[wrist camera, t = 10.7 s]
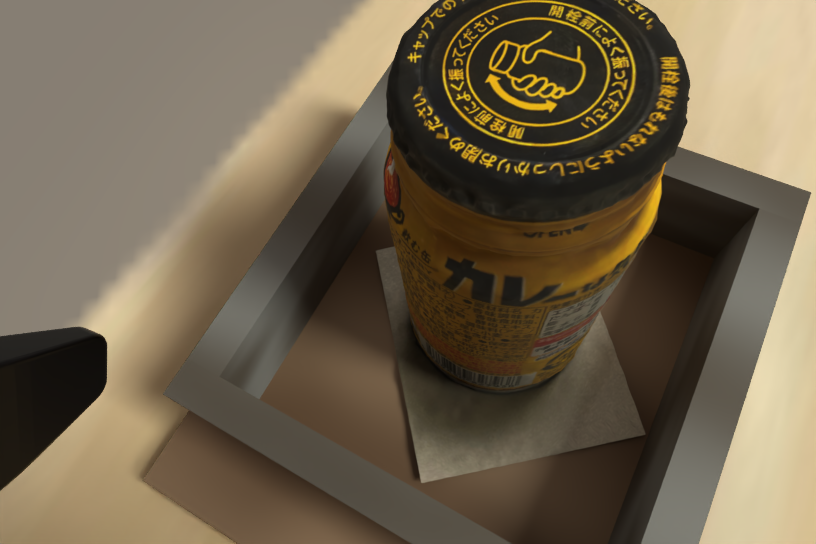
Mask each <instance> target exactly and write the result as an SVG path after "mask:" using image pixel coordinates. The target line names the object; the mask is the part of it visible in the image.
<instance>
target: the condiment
mask: <svg viewBox="0 0 816 544" xmlns="http://www.w3.org/2000/svg"><path fill="white" fill-rule="evenodd" d="M689 89H690V80H689V75H688V72H687V68H686V65H685V61H684V59H683V57H682V55H681V53H680V51H679V49H678V47H677V44H676V41H675V40H674V39H673V37H672V36H671V35H670V33H669V32H668V30H667V28H666V27H665V25H664V24H663V23H662V22H660V20H659V18H658V17H657V15H656V14H655V13H654V12H652V11H651V10H650V9H648V8H647V7H645V6H643V5H641V4H640V3H638V2H637V1H635V0H439V1H437V2H436V3H434V4H433V5H432V6H431V7H430V8H429V9H428V10H427V11H426V12H425V13H424V14H423V15H422V16H421V17H420V18H419V19H418V20H417V22H416V23H415V24H414V25H413V26H412V27H411V28H410V29H409V30H408V31H406V32H405V33H404V35H403V36H402V38H401V41H400V44H399V46H398V49H397V52H396V55H395V58H394V60H393V64H392V67H391V70H390V73H389V76H388V84H387V91H386V99H387V115H386V116H387V119H388V124H389V126H390V128H391V132H390V141H391V142H390V145H389V148H388V152H387V156H386V160H385V164H384V171H383V176H384V196H385V206H386V210H387V215H388V222H389V225H390V230H391V236H392V237H393V242H394V247H390V248H385V249H381V250H377V251H376V254H377V259H378V264H379V269H380V274H381V279H382V284H383V289H384V294H385V299H386V304H387V309H388V314H389V319H390V325H391V330H392V335H393V340H394V345H395V350H396V355H397V361H398V366H399V371H400V376H401V381H402V385H403V391H404V396H405V402H406V407H407V412H408V417H409V423H410V427H411V432H412V437H413V442H414V448H415V453H416V458H417V463H418V468H419V473H420V479H421V483H425V482H430V481H434V480H439V479H443V478H447V477H454V476H458V475H463V474H467V473H472V472H477V471H482V470H486V469H490V468H495V467H501V466H505V465H510V464H513V463H519V462H523V461H528V460H532V459H537V458H541V457H546V456H551V455H557V454H560V453H564V452H569V451H573V450H577V449H582V448H587V447H592V446H596V445H601V444H606V443H609V442H614V441H619V440H623V439H628V438H632V437H636V436H641V435H645V431H644V428H643V426H642V423H641V420H640V417H639V414H638V411H637V408H636V406H635V403H634V401H633V398H632V396H631V393H630V391H629V388H628V385H627V381H626V378H625V375H624V372H623V370H622V368H621V366H620V364H619V361H618V358H617V355H616V352H615V348H614V345H613V343H612V340H611V338H610V336H609V333H608V330H607V327H606V325H605V323H604V320H603V317H602V315H601V312H600V311H601V309H602V308H603V307H604V306H605V304H606V302H607V301H608V300H609V298H610V295H611V293H612V292H613V290H614V289H615V287H616V286H617V285H618V284H619V282H620V280H621V278H622V277H623V274H624V273H625V271H626V270H627V269H628V267H629V266H630V264H631V263H632V262H633V260H634V258H635V257H636V255H637V252H638V250H639V248H640V247H641V245H642V244H643V242H644V241H645V239H646V238H647V236H648V235H649V234H650V233H651V232H652V229H653V227H654V225H655V223H656V221H657V213H658V207H659V202H660V198H661V195H662V183H661V178H662V176H663V172H664V167H665V164H666V162H667V161H668V160H669V159H670V158H672V157H674V156H675V153H676V150H677V147H678V144H679V142H680V140H681V138H682V135H683V131H684V128H685V126H686V124H687V119H686V114H687V102H688V101H689V97H688V93H689Z"/></svg>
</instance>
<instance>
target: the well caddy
mask: <svg viewBox="0 0 816 544" xmlns="http://www.w3.org/2000/svg"><path fill="white" fill-rule="evenodd" d="M392 64H393V62H392V63H391V65H390V66H389V68H388V69H387V70H386V72H385V73H384V75H383V76H382V78H381V79H380V81H379V82H378V83H377V85H376V86H375V88H374V89H373V91H372V92H371V94H370V95H369V96H368V98H367V99H366V101H365V102H364V104H363V105H362V107H361V108H360V109H359V111H358V112H357V114H356V115H355V117H354V118H353V120H352V121H351V123H350V124H349V125H348V127H347V128H346V130H345V131H344V133H343V134H342V136H341V137H340V138H339V140H338V141H337V143H336V144H335V146H334V147H333V149H332V150H331V151H330V153H329V154H328V156H327V157H326V159H325V160H324V162H323V163H322V164H321V166H320V167H319V169H318V170H317V172H316V173H315V175H314V176H313V178H312V179H311V180H310V182H309V183H308V185H307V186H306V188H305V189H304V191H303V192H302V193H301V195H300V196H299V198H298V199H297V201H296V202H295V204H294V205H293V206H292V208H291V209H290V211H289V212H288V214H287V215H286V217H285V218H284V219H283V221H282V222H281V224H280V225H279V227H278V228H277V230H276V231H275V232H274V234H273V235H272V237H271V238H270V240H269V241H268V243H267V244H266V246H265V247H264V248H263V250H262V251H261V253H260V254H259V256H258V257H257V259H256V260H255V261H254V263H253V264H252V266H251V267H250V269H249V270H248V272H247V273H246V274H245V276H244V277H243V279H242V280H241V282H240V283H239V285H238V286H237V287H236V289H235V290H234V292H233V293H232V295H231V296H230V298H229V299H228V300H227V302H226V303H225V305H224V306H223V308H222V309H221V311H220V312H219V314H218V315H217V316H216V318H215V319H214V321H213V322H212V324H211V325H210V327H209V328H208V329H207V331H206V332H205V334H204V335H203V337H202V338H201V340H200V341H199V342H198V344H197V345H196V347H195V348H194V350H193V351H192V353H191V354H190V355H189V357H188V358H187V360H186V361H185V363H184V364H183V366H182V367H181V369H180V370H179V371H178V373H177V374H176V376H175V377H174V379H173V380H172V382H171V383H170V384H169V386H168V387H167V389H166V390H165V392H164V393H163V395H165V396H167V397H168V398H170V399H172V400H173V401H175V402H177V403H178V404H180V405H182V406H183V407H185V408H187V409H188V410H189V412H188V413H187V415H186V416H185V418H184V419H183V421H182V422H181V424H180V425H179V427H178V428H177V430H176V431H175V433H174V434H173V436H172V437H171V439H170V440H169V442H168V443H167V445H166V446H165V448H164V449H163V451H162V452H161V454H160V455H159V457H158V458H157V460H156V461H155V463H154V464H153V466H152V467H151V469H150V470H149V472H148V473H147V475H146V476H145V478H144V479H143V481H144V482H145V483H147V484H148V485H150V486H152V487H153V488H155V489H156V490H158V491H159V492H161V493H162V494H164V495H165V496H167V497H168V498H170V499H171V500H173V501H174V502H176V503H177V504H179V505H180V506H182V507H183V508H185V509H186V510H188V511H189V512H191V513H192V514H194V515H195V516H197V517H198V518H200V519H201V520H203V521H204V522H206V523H207V524H209V525H210V526H212V527H214V528H215V529H217V530H218V531H220V532H221V533H223V534H224V535H226V536H227V537H229V538H230V539H232V540H233V541H235V542H236V543H238V544H699V541H700V538H701V535H702V532H703V529H704V526H705V523H706V519H707V516H708V513H709V510H710V507H711V504H712V501H713V498H714V494H715V491H716V488H717V485H718V482H719V479H720V476H721V473H722V469H723V466H724V463H725V460H726V457H727V454H728V451H729V448H730V444H731V441H732V438H733V435H734V432H735V429H736V426H737V423H738V419H739V416H740V413H741V410H742V407H743V404H744V401H745V398H746V394H747V391H748V388H749V385H750V382H751V379H752V376H753V373H754V369H755V366H756V363H757V360H758V357H759V354H760V351H761V348H762V344H763V341H764V338H765V335H766V332H767V329H768V326H769V323H770V319H771V316H772V313H773V310H774V307H775V304H776V301H777V298H778V294H779V291H780V288H781V285H782V282H783V279H784V276H785V273H786V269H787V266H788V263H789V260H790V257H791V254H792V251H793V248H794V244H795V241H796V238H797V235H798V232H799V229H800V226H801V223H802V219H803V216H804V213H805V210H806V207H807V204H808V201H809V198H810V194H811V192H808V191H805V190H802V189H799V188H796V187H794V186H791V185H788V184H785V183H782V182H779V181H776V180H773V179H770V178H768V177H765V176H762V175H759V174H756V173H753V172H750V171H747V170H744V169H741V168H739V167H736V166H733V165H730V164H727V163H724V162H721V161H718V160H715V159H712V158H710V157H707V156H704V155H701V154H698V153H695V152H692V151H689V150H686V149H683V148H681V147H677V150H676V153H675V156H674V157H672V158H670V159H669V160H668V161H667V162H666V164H665V167H664V172H663V176H662V178H661V183H662V195H661V198H660V202H659V207H658V213H657V221H656V223H655V225H654V227H653V229H652V232H651V233H650V234H649V235H648V236H647V238H646V239H645V241H644V242H643V244H642V245H641V247H640V248H639V250H638V252H637V255H636V257H635V258H634V260H633V262H632V263H631V264H630V266H629V267H628V269H627V270H626V271H625V273H624V274H623V277H622V278H621V280H620V282H619V284H618V285H617V286H616V287H615V289H614V290H613V292H612V293H611V295H610V298H609V300H608V301H607V302H606V304H605V306H604V307H603V308H602V309H601V311H600V312H601V315H602V317H603V320H604V323H605V325H606V327H607V330H608V333H609V336H610V338H611V340H612V343H613V345H614V348H615V352H616V355H617V358H618V361H619V364H620V366H621V368H622V370H623V372H624V375H625V378H626V381H627V385H628V388H629V391H630V393H631V396H632V398H633V401H634V403H635V406H636V408H637V411H638V414H639V417H640V420H641V423H642V426H643V428H644V431H645V435H641V436H636V437H632V438H628V439H623V440H619V441H614V442H609V443H606V444H601V445H596V446H592V447H587V448H582V449H577V450H573V451H569V452H564V453H560V454H557V455H551V456H546V457H541V458H537V459H532V460H528V461H523V462H519V463H513V464H510V465H505V466H501V467H495V468H490V469H486V470H482V471H477V472H472V473H467V474H463V475H458V476H454V477H447V478H443V479H439V480H434V481H430V482H425V483H421V479H420V473H419V468H418V463H417V458H416V453H415V448H414V442H413V437H412V432H411V427H410V423H409V417H408V412H407V407H406V402H405V396H404V391H403V385H402V381H401V376H400V371H399V366H398V361H397V355H396V350H395V345H394V340H393V335H392V330H391V325H390V319H389V314H388V309H387V304H386V299H385V294H384V289H383V284H382V279H381V274H380V269H379V264H378V259H377V254H376V251H377V250H381V249H385V248H390V247H394V242H393V237H392V236H391V230H390V225H389V222H388V215H387V210H386V206H385V196H384V176H383V171H384V164H385V160H386V156H387V152H388V148H389V145H390V142H391V141H390V132H391V128H390V126H389V124H388V119H387V116H386V115H387V99H386V91H387V84H388V76H389V73H390V70H391V67H392Z"/></svg>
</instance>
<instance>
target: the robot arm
mask: <svg viewBox="0 0 816 544" xmlns="http://www.w3.org/2000/svg"><path fill="white" fill-rule="evenodd" d="M106 382H107V342H106V340H105V338H104V337H103V336H102V335H100V334H98V333H96V332H93V331H91V330H89V329H86V328H83V327H71V328H63V329H55V330H47V331H39V332H31V333H23V334H15V335H8V336H0V491H1V490H2V489H3V488H4V487H5V486H7V485H8V484H9V483H10V482H11V481H12V480H14V479H15V478H16V477H17V476H18V475H19V474H20V473H22V472H23V471H24V470H25V469H26V468H27V467H28V466H29V465H30V464H31V463H32V462H33V461H34V460H35V459H36V458H37V457H38V456H39V455H40V454H41V453H42V452H43V451H44V450H45V449H46V448H47V447H48V446H50V445H51V444H52V443H53V442H54V441H55V440H56V439H57V438H58V437H59V436H60V435H61V434H62V433H63V432H64V431H65V430H66V429H67V428H68V427H69V426H70V425H71V424H72V423H73V422H74V421H75V420H76V419H77V418H78V417H79V416H80V415H81V414H82V413H83V412H84V411H85V410H86V409H87V408H88V407H89V406H90V405H91V404H92V403H93V402H94V401H95V400H96V399H97V398H98V397H99V396H100V394H101V393H102V392H103V390H104V388H105V385H106Z"/></svg>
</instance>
